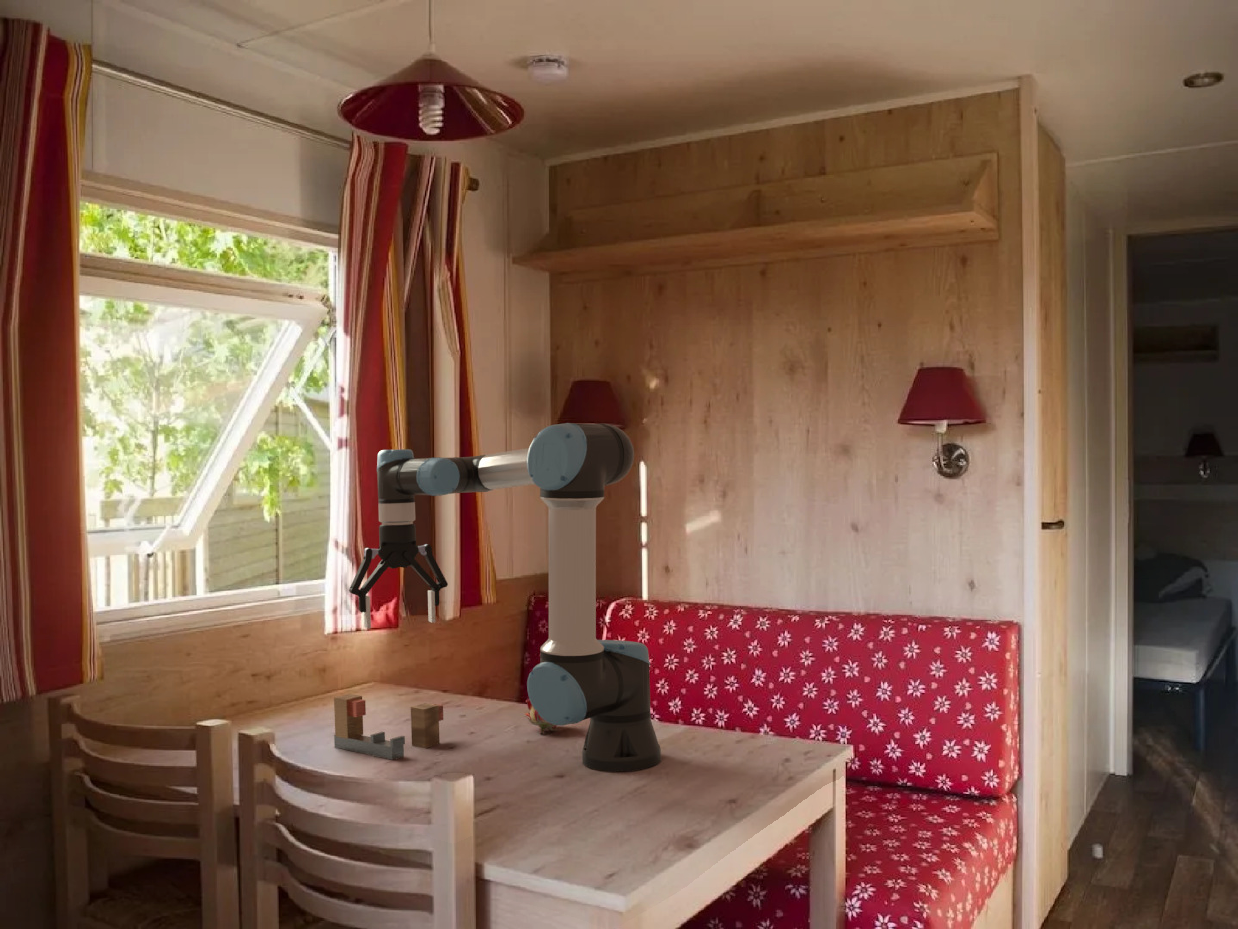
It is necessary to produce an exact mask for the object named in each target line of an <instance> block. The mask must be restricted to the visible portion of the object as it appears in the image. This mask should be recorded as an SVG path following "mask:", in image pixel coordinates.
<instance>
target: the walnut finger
mask: <svg viewBox="0 0 1238 929" xmlns="http://www.w3.org/2000/svg"><path fill="white" fill-rule="evenodd" d="M440 721H444V705H443V704H436V703H435V704H431V703H427V702H425V703H421V704H416V705H413V706H411V707H410V727H411V746H413V747H418V748H421V749H428V748H431V747H434V746H437V745H438V746H439V745H440V744H441V742H440Z"/></svg>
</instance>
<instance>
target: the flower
mask: <svg viewBox="0 0 1238 929" xmlns="http://www.w3.org/2000/svg"><path fill="white" fill-rule="evenodd" d="M525 703H526V704H527V708H528V710H529V712H525V715H524V717H526V718H527V720H528V721H529V722H530V724H532V725H534V726H538V728H540V731H539V734H540V735H544V732H545V731H546V730H548V731H551V732H552V731H560V729H556V727H558V725H553V724H551V723H548V722H547V721H545V720H544V719H543V718H541V717H540V715H539V714H538V712H537V710H535V709H534V708H533V706H532V704H531V702H530V699H529V698H527V699H525Z"/></svg>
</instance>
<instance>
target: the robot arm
mask: <svg viewBox="0 0 1238 929" xmlns="http://www.w3.org/2000/svg"><path fill="white" fill-rule="evenodd" d="M626 433H627V432H626ZM626 433H625V432H624V431H623V430H622V429H621V428H620V427H617V426H615V425H612V424H608V423H573V422H572V423H570V422H566V423H559V424H552V425H548V426H546V427H544V428H542V429H541V430H540V431H539V432H538V433H537V435H536V436H535V437H534V438H533V439H532V441H531V443H530V445H529V447H528V448H519V449H515V450H507V451H501V452H495V453H494V452H493V453H489V454H483V455H476V456H463V457H462V456H461V457H457V456H455V457H454V456H453V457H423V458H415V456H414V452H413V450H412V449H409V448H407V449H403V448H402V449H382V450H380V451H379V452H378V453H377V461H376V463H377V465H376V475H377V476H376V477H377V478H376V479H377V498H378V499H377V500H378V522H380V523H381V524H380V525H379V526H378V537H379V538H378V539H379V543H378V544H379V545H378V548H370V547H365V548H364V549H363V558H362V560H361V563H360V565H359V567H358V569H357V572H356V574H355V576H354V577H353V580H352V582H351V585H350V587H349V590H348V592H349V593H350V594H351V595H355V596H357V597H358V610H359V612H360V613H363V622H364V623H363V625H364V626H363V627H364V628H365V629H370V630H371V629H372V625H371V624H372V623H371V622H372V621H371V620H372V618H371V596H369V595H368V593H369V592H370V590H371V589H372V588H373V587H374V585H376V583H377V581H378V580H379V579H380V578H381V576H382V575H383V574H384V572H385V571H387V570H388V568H390V569H398V568H407V569H408V567H410V568H412V569H413V570H414V571H415V572H416V574H418V576H419V577H420V578H421V579H422V580H423V582H424V583H425V584H426V585H427V586H428V587H429V588H430V590H429V589H428V590H427V609H428V610H427V612H428V622H430V623H436V607H437V606H438V607H439V605H440V591H441V589H443V588H447V587H448V585H449V584H448V581H447V580H446V578H445V575H444V574H443V572H442V570H441V568H440V567H439V564H438V563H437V561H436V559H435V557H434V555H433V550H432V545H430V544H427V543H425V544H423V545H417V535H416V534H417V532H416V531H417V528H416V527H417V526H416V524H415V523H414V521H416V499H415V496H417V495H418V496H432V497H437V496H440V497H441V496H446V495H450V494H451V495H452V494H461V493H464V494H465V493H487V492H490V491H494V490H500V489H501V490H502V489H508V488H509V489H510V488H518V487H525V486H531V485H532V486H533V485H535V486H536V487H538V488H539V489H540V490H539V491H540V492H539V494H540V495H539V498H540V500H541V501H542V502H543V503H544V504H545V505H546V507H547V508H548V639H547V640H546V641H545V642H544V643H543V644H542V645H541V646H540V649H539V650H540V652H539V653H540V654H539V655H540V657H539V658H540V663H538V664H536V665H535V666H534V667H533V668H532V671H530V673H529V674H528V677H527V681H526V686H527V687H526V688H527V694H528V699H530V702H531V704H532V706H533V708H534V709H535V710H537V712H538V714H539V715H540V717H541V718H543V719H544V720H545V721H547V722H548V723H551V724H553V725H557V726H558V727H559V726H567V725H575V724H578V723H581V722H582V721H585V720H588V719H589V724H588V725H589V726H588V728H587V732H586V735H585V740H584V744H583V747H582V750H581V753H582V754H581V758H582V759H581V763H582V764H583V765H584V766H585V767H588V768H589V769H593V770H597V771H603V772H604V771H605V772H631V771H632V772H633V771H639V770H640V771H641V770H644V769H649V768H652V767H654V766H656V765H658V764H659V763H661V761H662V752H661V751H662V750H661V746H660V744H659V742H658V738H657V735H656V731H655V728H654V724H653V723H652V718H651V685H650V684H651V683H650V682H651V681H650V680H651V678H650V666H651V662H650V657H649V656H650V655H649V649H648V647H647V646H646V644H645V643H642V642H638V641H630V640H616V639H597V638H596V637H597V630H596V629H597V625H596V624H597V623H596V621H597V611H596V609H597V606H596V605H597V602H596V601H597V600H596V599H597V595H596V594H597V591H596V590H597V576H596V575H597V568H596V566H597V561H596V559H597V546H596V545H597V533H596V532H597V506H598V505H599V504H601V502H602V501H603V500H604V499H605V487H606V486H609V485H613V484H616V483H618V482H620V481H621V480H623V479H624V478H625V477H626V476H627V475H628V474H629V472H630V471H631V469H632V466H633V464H634V459H635V450H634V445H633V443H632V441H631V439H630V437H629V435H627V434H626ZM419 553H420V554H421V556H424V558H425V561H426V563H427V564H428V566H429V568H430V569H431V571H432V574H433V575H434V578H435V579H436V581H437V582H435V579H433V578H432V577H431V576H430V575H429V574H428V573H427V571H426V570H425V569H424V568H423V567H422V566H421V565H420V564H419V562H418V561H417V560H416V559H415V558H416V557H417V555H418V554H419ZM377 555H378V557H379V558H380V559H381V560H380V562H378V564H377V565H376V566H377V567H376V568H375V569H374V570H373V571H372V573H371V574H370V575H369V577H367V580H366V581H365V582H364V584H363V585H362V586H361V584H362V582H363V580H364V578H365V576H366V574H367V573H368V569H369V567H370V565H371V563H372V560H374V559H375V557H376V556H377Z"/></svg>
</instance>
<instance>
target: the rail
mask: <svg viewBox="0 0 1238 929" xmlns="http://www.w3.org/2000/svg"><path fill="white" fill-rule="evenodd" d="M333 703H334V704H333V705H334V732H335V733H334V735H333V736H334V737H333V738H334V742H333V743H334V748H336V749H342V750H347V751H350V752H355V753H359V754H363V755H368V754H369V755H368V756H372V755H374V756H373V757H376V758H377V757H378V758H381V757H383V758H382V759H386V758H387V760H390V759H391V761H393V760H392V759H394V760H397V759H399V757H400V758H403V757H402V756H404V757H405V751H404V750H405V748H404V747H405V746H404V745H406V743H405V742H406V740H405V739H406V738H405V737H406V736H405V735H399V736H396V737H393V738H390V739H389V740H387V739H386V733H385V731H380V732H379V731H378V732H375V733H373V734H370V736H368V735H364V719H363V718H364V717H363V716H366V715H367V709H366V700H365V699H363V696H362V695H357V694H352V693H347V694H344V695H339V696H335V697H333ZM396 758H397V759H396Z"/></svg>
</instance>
